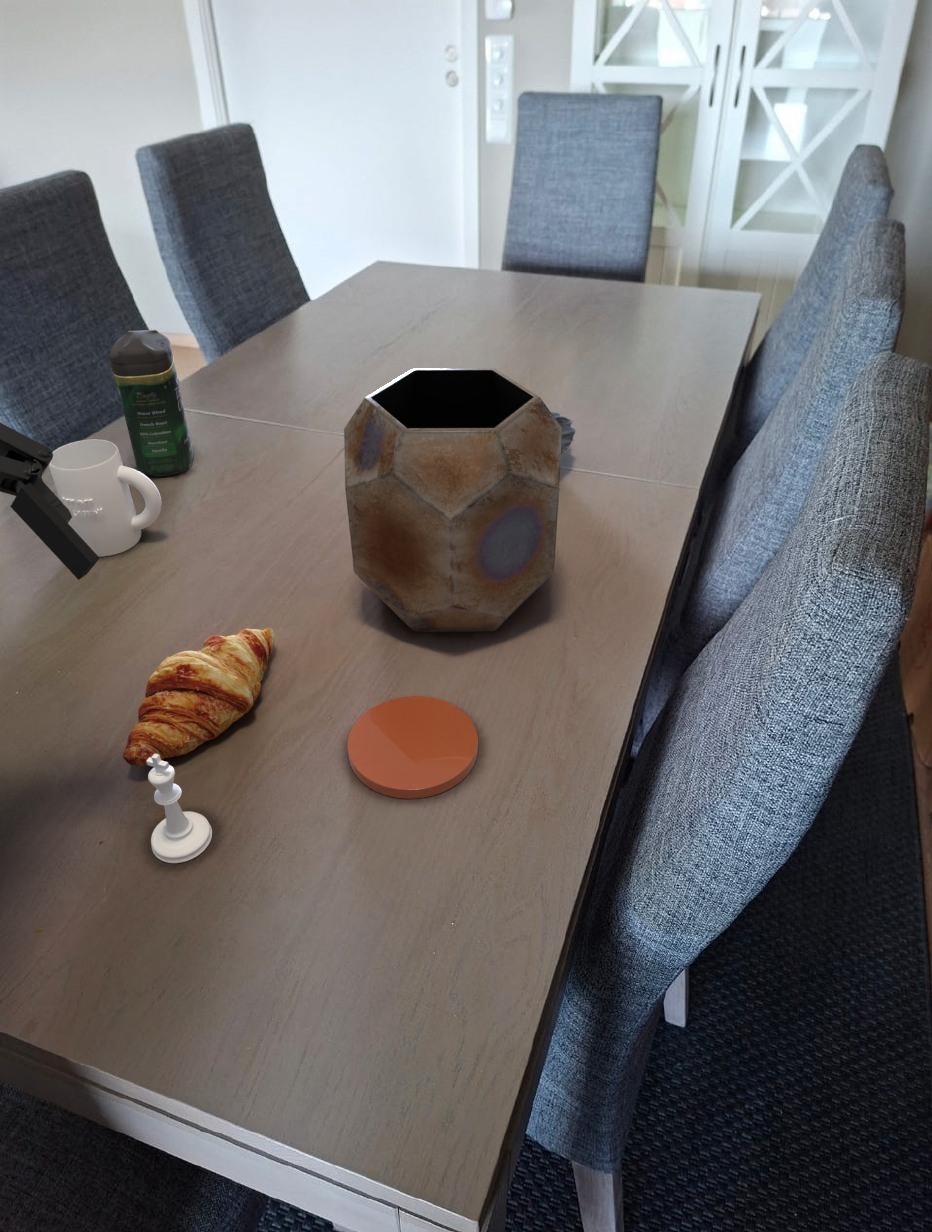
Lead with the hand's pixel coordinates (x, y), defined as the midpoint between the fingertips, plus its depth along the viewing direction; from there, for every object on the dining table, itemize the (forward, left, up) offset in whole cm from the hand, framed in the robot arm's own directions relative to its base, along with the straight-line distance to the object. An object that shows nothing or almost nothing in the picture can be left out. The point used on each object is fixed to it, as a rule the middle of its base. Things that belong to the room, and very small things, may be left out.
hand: (6, 624), depth 54 cm
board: (+34, +71, -26) cm, 83 cm away
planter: (+28, +39, -26) cm, 54 cm away
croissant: (+4, +20, -26) cm, 33 cm away
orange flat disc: (+24, +14, -26) cm, 38 cm away
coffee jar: (-14, +72, -26) cm, 78 cm away
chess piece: (+5, +4, -26) cm, 27 cm away
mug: (-14, +51, -26) cm, 59 cm away
